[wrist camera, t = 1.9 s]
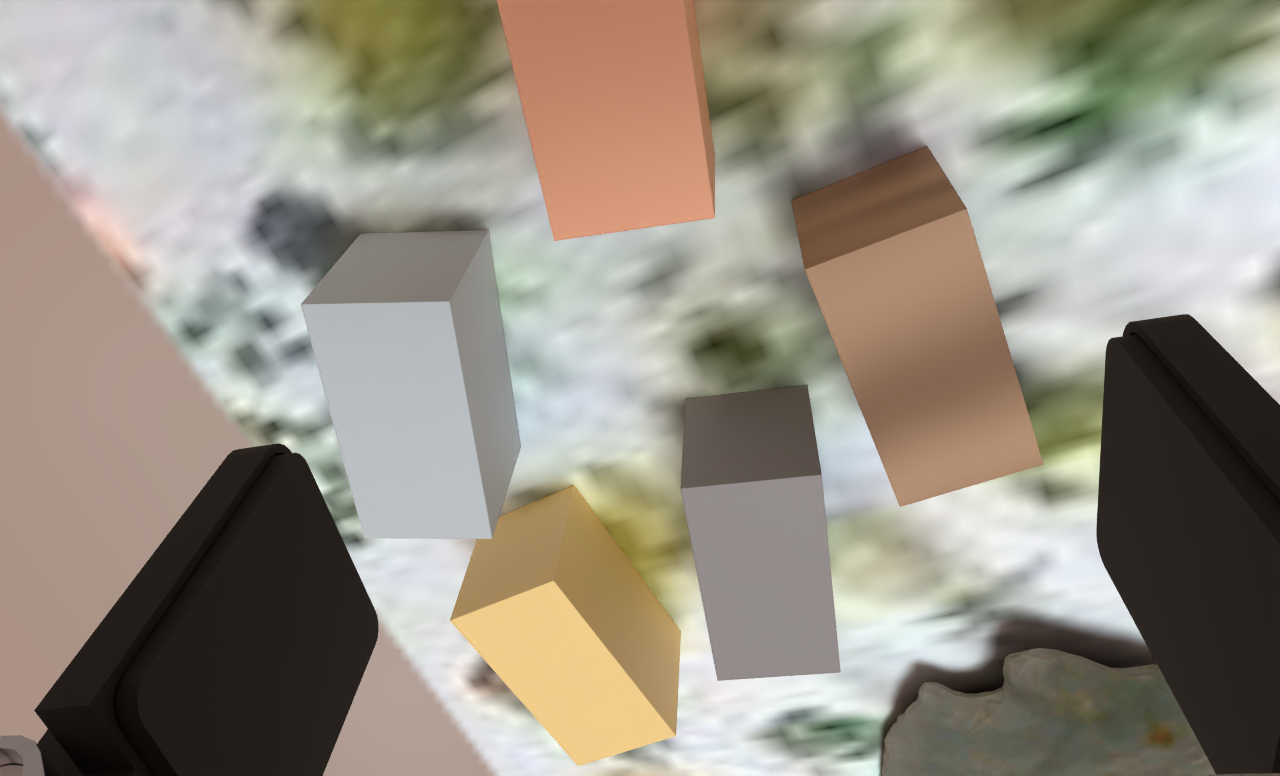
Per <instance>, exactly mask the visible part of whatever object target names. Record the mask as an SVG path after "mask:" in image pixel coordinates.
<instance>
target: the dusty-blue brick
mask: <svg viewBox="0 0 1280 776" xmlns="http://www.w3.org/2000/svg"><path fill="white" fill-rule="evenodd" d="M301 307H302V310H303V314H304V318H305V321H306V325H307V329H308V333H309V336H310V340H311V344H312V347H313V351H314V355H315V358H316V362H317V366H318V369H319V373H320V377H321V380H322V384H323V388H324V391H325V395H326V399H327V402H328V406H329V410H330V413H331V417H332V421H333V425H334V428H335V432H336V436H337V439H338V443H339V447H340V450H341V454H342V458H343V461H344V465H345V469H346V472H347V476H348V480H349V483H350V487H351V491H352V494H353V498H354V502H355V505H356V509H357V513H358V517H359V520H360V524H361V528H362V531H363V535H364V538H425V539H492V538H493V534H494V531H495V528H496V525H497V522H498V518H499V515H500V512H501V509H502V505H503V502H504V499H505V496H506V493H507V489H508V486H509V483H510V480H511V477H512V473H513V470H514V467H515V464H516V461H517V457H518V454H519V451H520V448H521V444H520V437H519V430H518V424H517V417H516V410H515V403H514V397H513V390H512V383H511V377H510V370H509V363H508V356H507V350H506V343H505V336H504V330H503V323H502V316H501V309H500V303H499V296H498V289H497V282H496V276H495V269H494V262H493V256H492V249H491V242H490V235H489V230H466V231H430V232H393V233H361V234H360V235H359V236H358V237H357V239H356V240H355V241H354V242H353V243H352V245H351V246H350V247H349V248H348V249H347V250H346V252H345V253H344V254H343V255H342V256H341V258H340V259H339V260H338V261H337V262H336V263H335V265H334V266H333V267H332V268H331V269H330V271H329V272H328V273H327V274H326V275H325V276H324V278H323V279H322V280H321V281H320V282H319V284H318V285H317V286H316V287H315V288H314V289H313V291H312V292H311V293H310V294H309V295H308V297H307V298H306V299H305V300H304V301H303V303H302V304H301Z"/></svg>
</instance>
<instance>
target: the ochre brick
mask: <svg viewBox="0 0 1280 776" xmlns="http://www.w3.org/2000/svg"><path fill="white" fill-rule="evenodd" d="M450 621H451V622H452V624H453V625H454V626H455V627H456V628H457V629H458V630H459V632H460V633H461V634H462V635H463V636H464V637H465V638H466V639H467V641H468V642H469V643H470V644H471V645H472V646H473V647H474V649H475V650H476V651H477V652H478V653H479V654H480V655H481V656H482V658H483V659H484V660H485V661H486V662H487V663H488V664H489V665H490V667H491V668H492V669H493V670H494V671H495V672H496V673H497V675H498V676H499V677H500V678H501V679H502V680H503V681H504V682H505V684H506V685H507V686H508V687H509V688H510V689H511V690H512V692H513V693H514V694H515V695H516V696H517V697H518V698H519V699H520V701H521V702H522V703H523V704H524V705H525V706H526V707H527V709H528V710H529V711H530V712H531V713H532V714H533V715H534V716H535V718H536V719H537V720H538V721H539V722H540V723H541V724H542V726H543V727H544V728H545V729H546V730H547V731H548V732H549V733H550V735H551V736H552V737H553V738H554V739H555V740H556V741H557V743H558V744H559V745H560V746H561V747H562V748H563V749H564V750H565V752H566V753H567V754H568V755H569V756H570V757H571V758H572V760H573V761H574V762H575V763H576V764H577V765H578V766H580V765H583V764H587V763H590V762H593V761H596V760H599V759H603V758H606V757H609V756H612V755H616V754H619V753H622V752H625V751H629V750H632V749H635V748H638V747H641V746H645V745H648V744H651V743H654V742H658V741H661V740H664V739H667V738H670V737H674V736H676V723H677V702H678V681H679V660H680V639H681V631H680V630H679V628H678V627H677V625H676V624H675V623H674V621H673V620H672V619H671V617H670V616H669V614H668V613H667V612H666V610H665V609H664V608H663V606H662V605H661V603H660V602H659V601H658V599H657V598H656V597H655V595H654V594H653V592H652V591H651V590H650V588H649V587H648V586H647V584H646V583H645V581H644V580H643V579H642V577H641V576H640V575H639V573H638V572H637V570H636V569H635V568H634V566H633V565H632V564H631V562H630V561H629V560H628V558H627V557H626V555H625V554H624V553H623V551H622V550H621V549H620V547H619V546H618V544H617V543H616V542H615V540H614V539H613V538H612V536H611V535H610V533H609V532H608V531H607V529H606V528H605V527H604V525H603V524H602V522H601V521H600V520H599V518H598V517H597V516H596V514H595V513H594V511H593V510H592V509H591V507H590V506H589V505H588V503H587V502H586V500H585V499H584V498H583V496H582V495H581V494H580V492H579V491H578V490H577V488H576V487H575V485H573V486H570V487H568V488H566V489H563V490H561V491H558V492H556V493H554V494H551V495H549V496H547V497H544V498H542V499H540V500H537V501H535V502H532V503H530V504H528V505H525V506H523V507H521V508H518V509H516V510H513V511H511V512H509V513H506V514H504V515H502V516H499V518H498V522H497V525H496V528H495V531H494V534H493V538H492V539H477V541H476V544H475V547H474V550H473V553H472V556H471V559H470V562H469V565H468V568H467V571H466V574H465V577H464V580H463V583H462V586H461V589H460V592H459V595H458V598H457V601H456V604H455V607H454V610H453V613H452V616H451V619H450Z"/></svg>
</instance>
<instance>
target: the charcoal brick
mask: <svg viewBox="0 0 1280 776" xmlns="http://www.w3.org/2000/svg"><path fill="white" fill-rule="evenodd" d="M681 492H682V498H683V503H684V508H685V513H686V518H687V524H688V529H689V534H690V539H691V544H692V550H693V555H694V560H695V565H696V570H697V576H698V581H699V586H700V591H701V596H702V602H703V607H704V612H705V617H706V622H707V628H708V633H709V638H710V643H711V648H712V654H713V659H714V664H715V669H716V674H717V680H718V681H719V680H734V679H749V678H764V677H779V676H794V675H808V674H823V673H838V672H840V662H839V651H838V641H837V631H836V620H835V610H834V600H833V589H832V579H831V568H830V558H829V548H828V537H827V527H826V517H825V506H824V496H823V485H822V475H821V469H820V462H819V456H818V450H817V443H816V437H815V431H814V424H813V418H812V412H811V406H810V399H809V393H808V387H807V385H802V386H793V387H785V388H776V389H767V390H758V391H749V392H740V393H731V394H722V395H713V396H705V397H696V398H687V399H685V418H684V437H683V456H682V475H681Z"/></svg>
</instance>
